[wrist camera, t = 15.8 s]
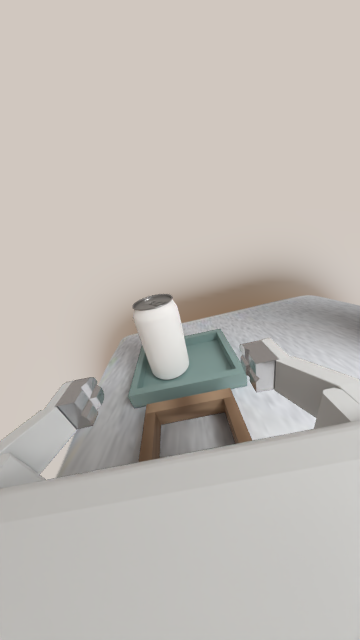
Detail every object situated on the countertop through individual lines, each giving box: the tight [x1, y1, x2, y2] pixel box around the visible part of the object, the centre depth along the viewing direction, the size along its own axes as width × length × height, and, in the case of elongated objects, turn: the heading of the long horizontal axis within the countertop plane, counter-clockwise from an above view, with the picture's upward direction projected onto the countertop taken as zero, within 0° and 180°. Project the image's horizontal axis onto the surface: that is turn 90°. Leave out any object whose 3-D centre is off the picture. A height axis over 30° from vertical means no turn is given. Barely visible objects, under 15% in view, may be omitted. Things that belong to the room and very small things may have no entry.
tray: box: [128, 329, 247, 408], centre depth 27 cm, size 16×12×2 cm
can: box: [133, 294, 189, 380], centre depth 25 cm, size 6×6×12 cm
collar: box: [139, 388, 252, 462], centre depth 15 cm, size 10×10×2 cm
